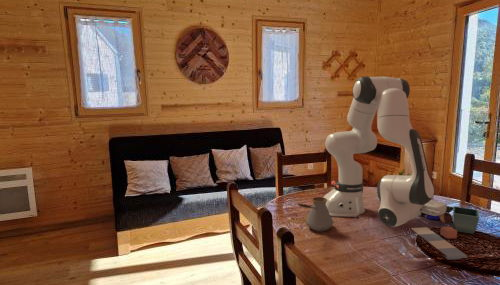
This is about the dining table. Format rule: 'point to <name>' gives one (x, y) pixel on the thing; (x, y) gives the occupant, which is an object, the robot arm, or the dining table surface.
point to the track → (440, 243)
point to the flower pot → (465, 219)
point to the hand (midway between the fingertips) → (425, 198)
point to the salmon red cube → (448, 232)
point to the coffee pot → (318, 215)
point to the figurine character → (441, 216)
